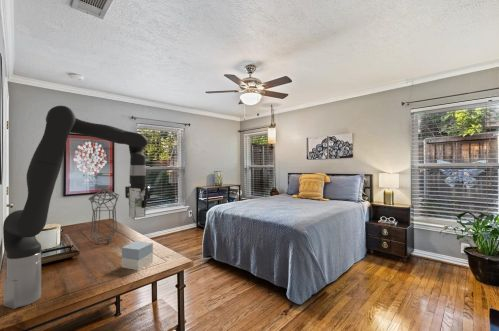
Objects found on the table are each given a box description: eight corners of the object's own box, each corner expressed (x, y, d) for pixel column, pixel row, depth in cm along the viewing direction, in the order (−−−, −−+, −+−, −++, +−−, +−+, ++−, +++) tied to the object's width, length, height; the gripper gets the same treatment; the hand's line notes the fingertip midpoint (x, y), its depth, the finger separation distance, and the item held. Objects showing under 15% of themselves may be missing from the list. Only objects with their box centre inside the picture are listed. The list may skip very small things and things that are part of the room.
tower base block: (138, 270, 114) (138, 260, 114) (121, 267, 117) (121, 257, 117) (152, 262, 124) (152, 253, 124) (137, 260, 127) (137, 250, 127)
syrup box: (140, 214, 124) (140, 187, 124) (145, 216, 120) (146, 187, 120) (128, 216, 120) (129, 187, 120) (134, 218, 116) (134, 188, 116)
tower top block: (138, 260, 114) (138, 249, 114) (121, 257, 117) (121, 247, 117) (152, 252, 124) (152, 243, 124) (136, 250, 127) (136, 241, 127)
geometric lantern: (119, 237, 165) (120, 186, 164) (115, 245, 150) (116, 189, 149) (92, 239, 159) (93, 187, 158) (85, 247, 144) (86, 190, 143)
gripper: (120, 174, 119) (120, 207, 119) (143, 175, 114) (143, 209, 114) (132, 173, 126) (132, 205, 126) (154, 174, 121) (154, 207, 121)
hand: (137, 207), depth 120 cm, fingers closed on syrup box, 7 cm apart
